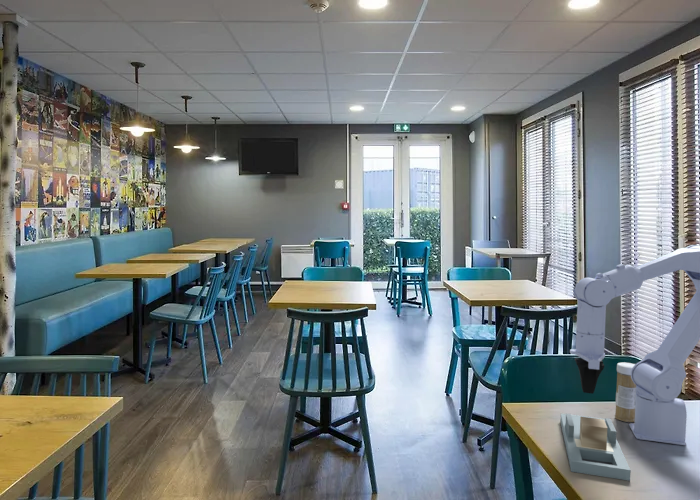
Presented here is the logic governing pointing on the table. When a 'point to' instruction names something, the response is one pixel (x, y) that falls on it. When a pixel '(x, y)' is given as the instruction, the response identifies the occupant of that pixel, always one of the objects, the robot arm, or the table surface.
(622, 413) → the sprinkles bottle
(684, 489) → the table surface
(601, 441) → the block
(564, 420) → the deck
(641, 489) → the table surface
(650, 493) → the table surface
